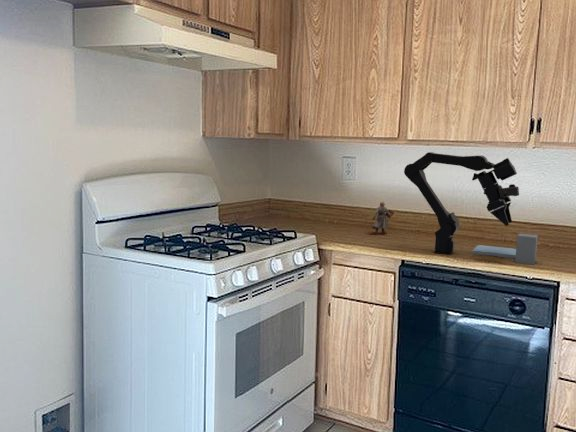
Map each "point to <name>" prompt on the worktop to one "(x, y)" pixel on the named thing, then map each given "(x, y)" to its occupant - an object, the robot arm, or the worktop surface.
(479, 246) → the board
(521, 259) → the tall gray block
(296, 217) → the worktop surface
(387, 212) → the figurine
